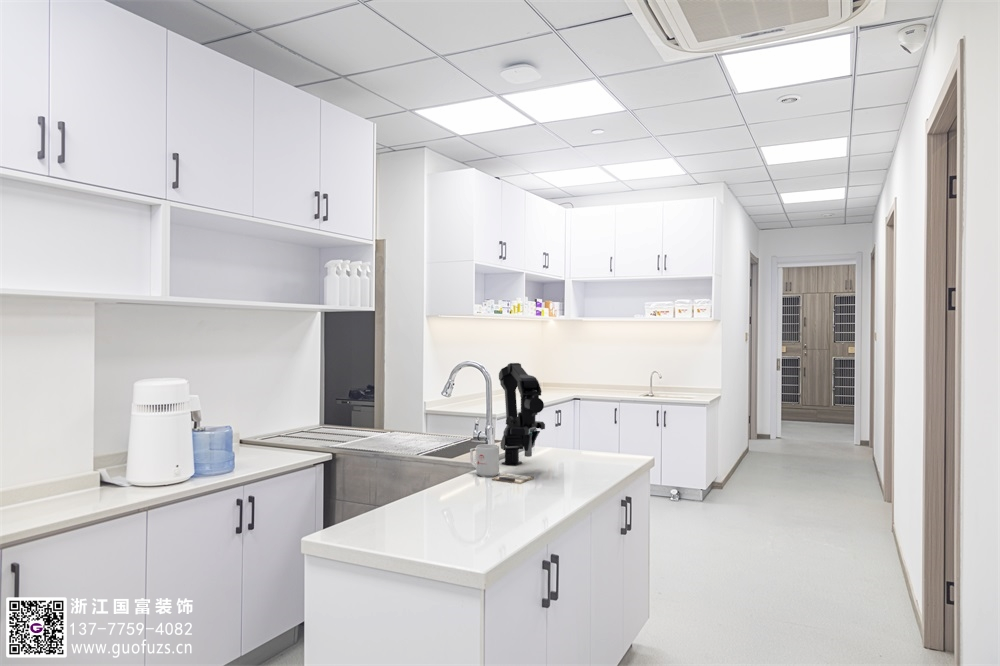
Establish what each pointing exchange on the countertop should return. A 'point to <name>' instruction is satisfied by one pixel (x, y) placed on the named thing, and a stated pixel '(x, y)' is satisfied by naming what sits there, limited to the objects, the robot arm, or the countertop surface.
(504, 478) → the clipboard
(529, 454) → the marker
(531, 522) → the countertop surface
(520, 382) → the robot arm
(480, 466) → the mug
